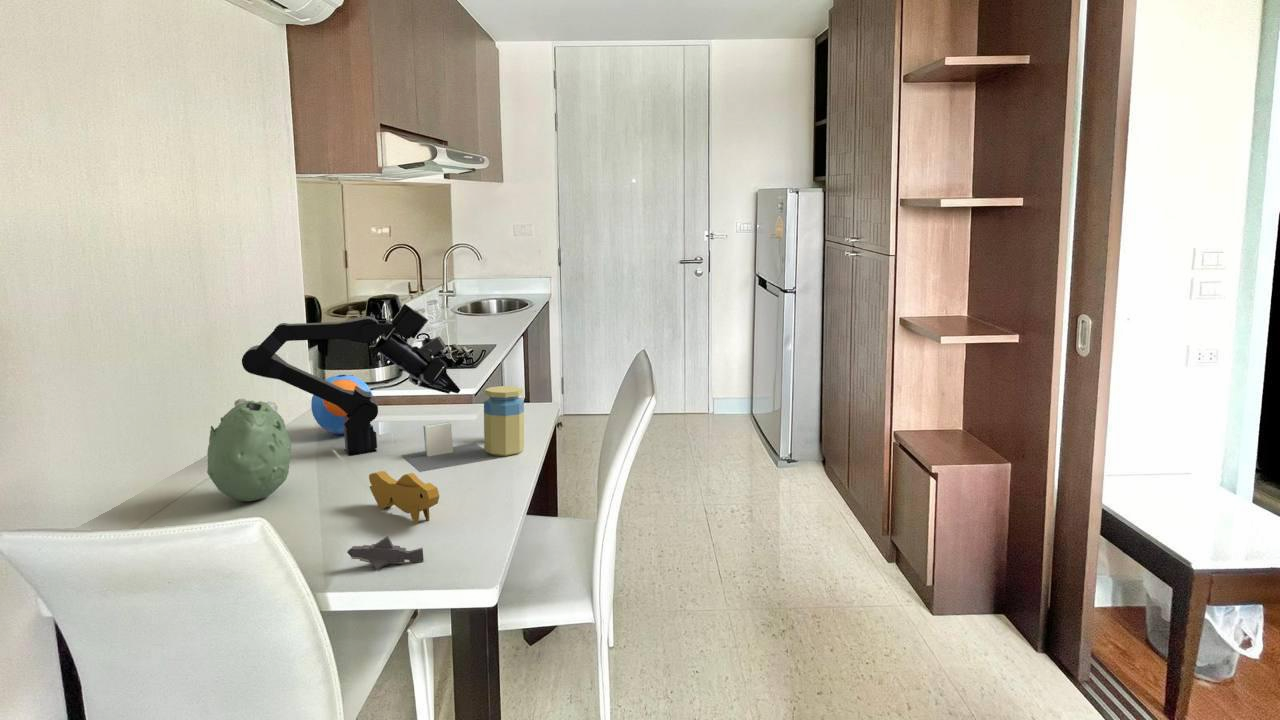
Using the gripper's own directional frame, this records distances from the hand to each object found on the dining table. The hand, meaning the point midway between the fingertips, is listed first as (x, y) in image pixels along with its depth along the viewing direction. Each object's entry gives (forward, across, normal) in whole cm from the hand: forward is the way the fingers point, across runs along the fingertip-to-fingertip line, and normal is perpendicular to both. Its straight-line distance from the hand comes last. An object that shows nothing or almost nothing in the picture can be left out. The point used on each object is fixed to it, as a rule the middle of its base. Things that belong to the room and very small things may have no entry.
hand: (454, 391), depth 215 cm
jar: (+15, -14, +7) cm, 22 cm away
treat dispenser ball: (-12, +28, +22) cm, 37 cm away
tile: (+4, -7, +15) cm, 17 cm away
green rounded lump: (-24, -18, +44) cm, 53 cm away
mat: (+6, -11, +15) cm, 19 cm away
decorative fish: (-2, -44, +31) cm, 54 cm away
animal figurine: (-5, -66, +39) cm, 77 cm away
